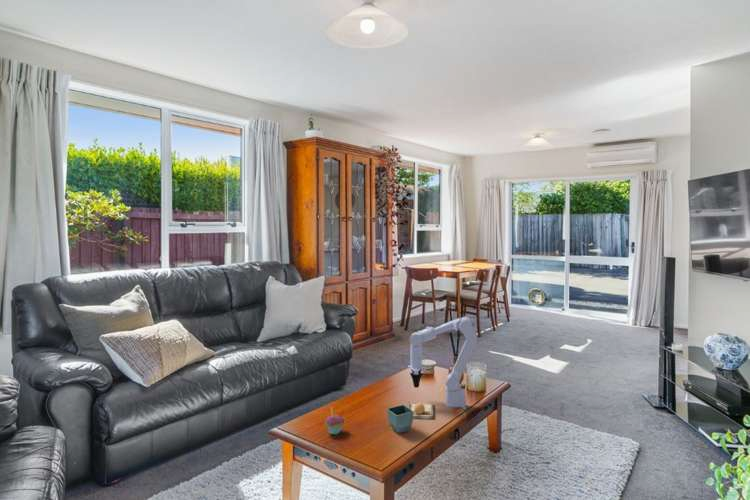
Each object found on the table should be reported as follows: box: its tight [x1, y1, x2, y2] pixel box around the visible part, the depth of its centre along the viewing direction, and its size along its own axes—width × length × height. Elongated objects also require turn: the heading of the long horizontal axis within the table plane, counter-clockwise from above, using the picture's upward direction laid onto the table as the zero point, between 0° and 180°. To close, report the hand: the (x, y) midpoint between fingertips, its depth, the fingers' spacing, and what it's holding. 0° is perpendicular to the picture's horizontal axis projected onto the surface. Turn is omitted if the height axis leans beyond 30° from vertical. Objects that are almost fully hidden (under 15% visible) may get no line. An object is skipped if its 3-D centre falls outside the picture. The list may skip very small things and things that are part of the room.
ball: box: [414, 402, 426, 415], centre depth 211 cm, size 5×5×5 cm
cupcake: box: [324, 407, 345, 435], centre depth 195 cm, size 9×8×12 cm
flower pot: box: [386, 404, 415, 434], centre depth 195 cm, size 9×9×9 cm
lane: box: [409, 403, 431, 412], centre depth 213 cm, size 12×17×1 cm
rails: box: [406, 400, 434, 420], centre depth 213 cm, size 12×17×2 cm
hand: (416, 384), depth 224 cm, fingers open, 7 cm apart
